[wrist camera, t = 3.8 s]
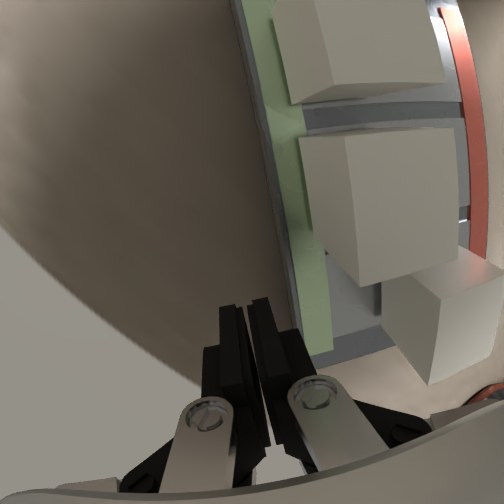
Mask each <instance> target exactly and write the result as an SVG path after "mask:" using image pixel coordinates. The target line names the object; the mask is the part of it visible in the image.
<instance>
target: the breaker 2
mask: <svg viewBox="0 0 504 504" xmlns="http://www.w3.org/2000/svg"><path fill="white" fill-rule="evenodd" d="M298 139H299V145H300V150H301V156H302V162H303V168H304V174H305V180H306V186H307V192H308V199H309V205H310V212H311V219H312V226H313V233H314V238H315V239H316V240H317V241H318V242H319V243H320V244H321V245H322V246H323V247H324V249H325V250H326V251H327V252H328V253H329V254H330V255H331V256H332V257H333V258H334V259H335V260H336V262H337V263H338V264H339V265H340V266H341V267H342V268H343V269H344V270H345V271H346V273H347V274H348V275H349V276H350V277H351V278H352V279H353V280H354V282H355V283H356V284H357V285H358V286H359V287H364V286H368V285H371V284H375V283H379V282H382V281H386V280H389V279H393V278H397V277H400V276H404V275H407V274H410V273H414V272H417V271H421V270H424V269H427V268H431V267H434V266H437V265H440V264H444V263H447V262H450V261H453V260H456V259H458V238H459V190H458V169H457V155H456V144H455V135H454V128H443V127H382V128H370V129H361V130H352V131H343V132H335V133H328V134H320V135H313V136H307V137H300V138H298Z"/></svg>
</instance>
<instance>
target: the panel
mask: <svg viewBox="0 0 504 504" xmlns="http://www.w3.org/2000/svg"><path fill="white" fill-rule="evenodd" d="M229 1H230V5H231V9H232V13H233V18H234V22H235V27H236V31H237V35H238V40H239V44H240V49H241V54H242V58H243V63H244V67H245V72H246V77H247V81H248V86H249V91H250V96H251V100H252V105H253V110H254V115H255V120H256V125H257V130H258V135H259V140H260V145H261V150H262V155H263V160H264V166H265V171H266V176H267V181H268V187H269V192H270V197H271V203H272V208H273V214H274V219H275V225H276V230H277V236H278V241H279V247H280V253H281V259H282V264H283V270H284V276H285V282H286V288H287V294H288V300H289V306H290V312H291V319H292V325H293V329H295V328H298V329H299V331H300V333H301V336H302V338H303V341H304V343H305V346H306V348H307V350H308V353H309V355H310V358H311V360H312V363H313V365H314V368H315V369H319V368H323V367H326V366H330V365H334V364H337V363H341V362H344V361H348V360H351V359H354V358H358V357H361V356H364V355H367V354H370V353H374V352H377V351H380V350H383V349H386V348H389V347H392V346H395V345H396V344H395V343H394V342H393V340H392V339H391V338H390V336H389V335H388V334H387V333H386V331H385V330H384V329H383V328H382V326H381V315H382V290H381V282H379V283H375V284H371V285H368V286H364V287H359V286H358V285H357V284H356V283H355V282H354V280H353V279H352V278H351V277H350V276H349V275H348V274H347V273H346V271H345V270H344V269H343V268H342V267H341V266H340V265H339V264H338V263H337V262H336V260H335V259H334V258H333V257H332V256H331V255H330V254H329V253H328V252H327V251H326V250H325V249H324V247H323V246H322V245H321V244H320V243H319V242H318V241H317V240H316V239H315V238H314V233H313V226H312V219H311V212H310V205H309V199H308V192H307V186H306V180H305V174H304V168H303V162H302V156H301V150H300V145H299V139H298V138H300V137H307V136H313V135H320V134H328V133H335V132H343V131H352V130H361V129H370V128H382V127H443V128H454V135H455V144H456V155H457V169H458V190H459V238H458V245H460V246H462V247H463V248H465V249H467V250H469V251H471V252H473V253H474V254H476V255H478V256H480V257H481V258H483V259H486V247H487V232H488V162H487V147H486V136H485V126H484V118H483V110H482V103H481V97H480V91H479V85H478V80H477V75H476V70H475V65H474V61H473V57H472V53H471V48H470V45H469V41H468V37H467V33H466V30H465V26H464V23H463V20H462V17H461V13H460V10H459V7H458V4H457V2H456V0H425V2H426V5H427V8H428V11H429V14H430V18H431V21H432V24H433V28H434V31H435V35H436V39H437V42H438V46H439V50H440V54H441V59H442V63H443V67H444V72H445V77H446V82H447V83H446V84H440V85H434V86H428V87H422V88H416V89H411V90H406V91H401V92H396V93H391V94H386V95H381V96H377V97H365V98H350V99H339V100H328V101H319V102H310V103H302V104H294V105H292V103H291V98H290V93H289V88H288V84H287V79H286V74H285V70H284V65H283V61H282V56H281V52H280V48H279V43H278V39H277V35H276V31H275V27H274V23H273V19H272V15H271V10H272V8H273V6H274V3H275V1H276V0H229Z"/></svg>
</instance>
